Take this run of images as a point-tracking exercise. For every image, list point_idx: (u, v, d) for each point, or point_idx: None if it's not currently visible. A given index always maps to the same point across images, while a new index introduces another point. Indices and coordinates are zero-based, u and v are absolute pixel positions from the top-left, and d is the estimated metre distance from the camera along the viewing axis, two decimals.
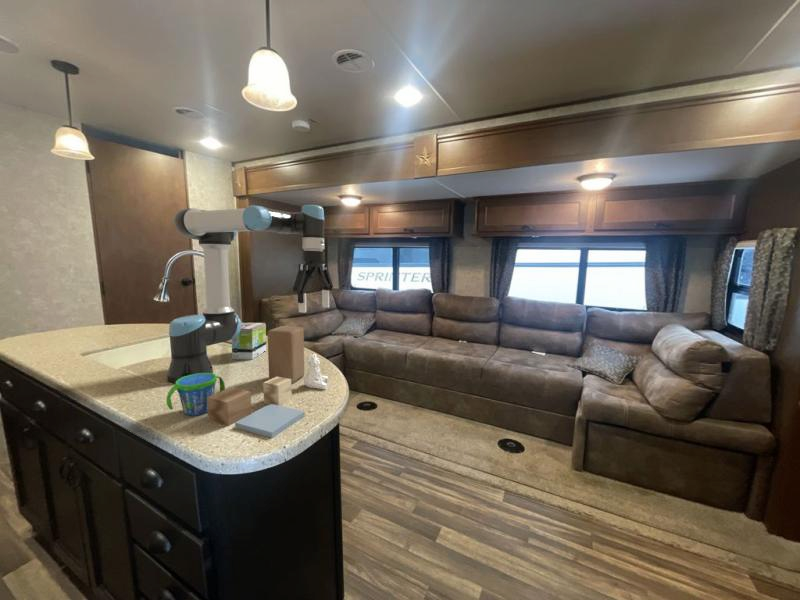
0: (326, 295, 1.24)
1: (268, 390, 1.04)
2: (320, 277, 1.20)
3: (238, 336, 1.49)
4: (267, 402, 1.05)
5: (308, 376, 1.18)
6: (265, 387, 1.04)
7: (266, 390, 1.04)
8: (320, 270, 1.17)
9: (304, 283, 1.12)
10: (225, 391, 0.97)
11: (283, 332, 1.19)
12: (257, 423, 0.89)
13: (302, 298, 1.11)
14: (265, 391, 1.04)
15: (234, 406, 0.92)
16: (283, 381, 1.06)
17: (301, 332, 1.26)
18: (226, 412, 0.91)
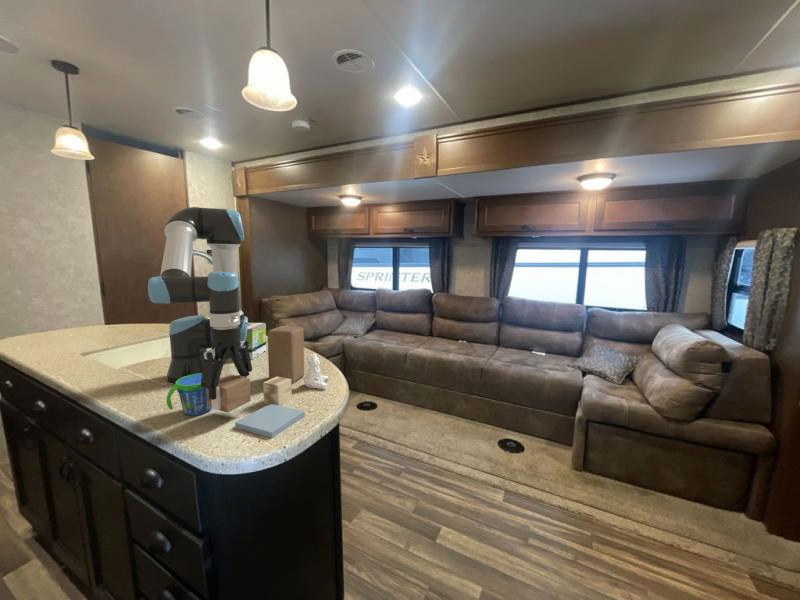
0: None
1: (268, 390, 1.04)
2: (234, 358, 0.96)
3: None
4: (267, 402, 1.05)
5: (308, 376, 1.18)
6: (265, 387, 1.04)
7: (266, 390, 1.04)
8: (234, 350, 0.94)
9: (215, 374, 0.90)
10: (225, 377, 0.97)
11: (283, 332, 1.19)
12: (257, 423, 0.89)
13: (214, 393, 0.90)
14: (265, 391, 1.04)
15: (234, 393, 0.92)
16: (283, 381, 1.06)
17: (301, 332, 1.26)
18: (225, 398, 0.91)
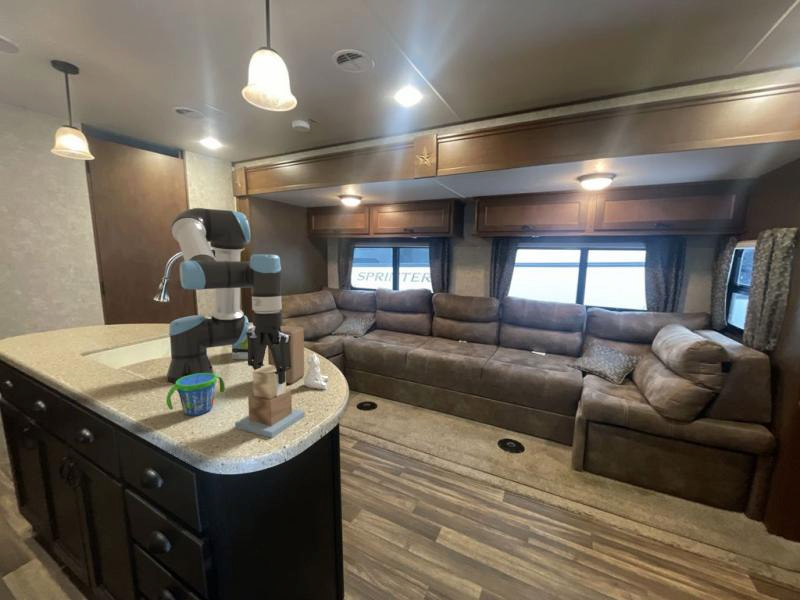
0: None
1: (258, 380, 0.89)
2: None
3: None
4: (257, 394, 0.90)
5: (308, 376, 1.18)
6: (255, 376, 0.90)
7: (256, 380, 0.90)
8: (265, 337, 0.88)
9: None
10: None
11: (283, 332, 1.19)
12: (257, 423, 0.89)
13: None
14: (255, 381, 0.90)
15: (277, 405, 0.90)
16: None
17: (301, 332, 1.26)
18: (269, 411, 0.88)
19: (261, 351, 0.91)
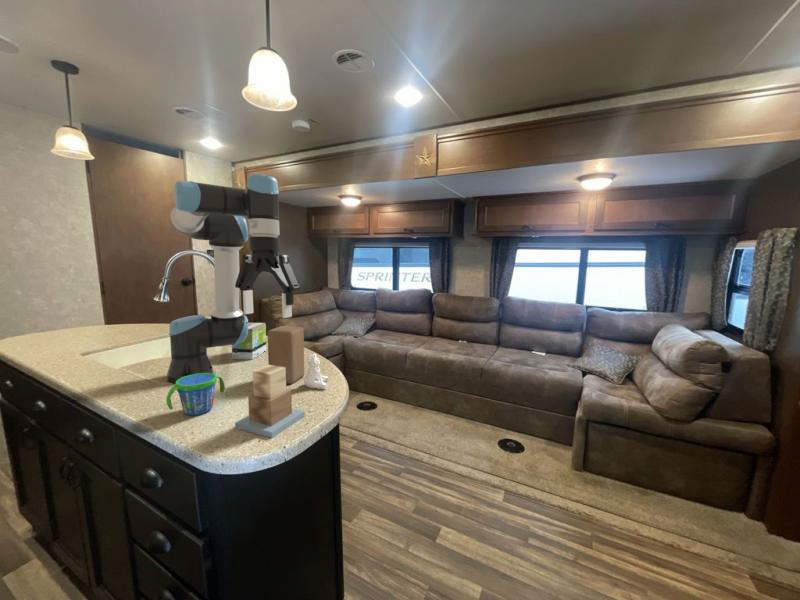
0: None
1: (258, 380, 0.89)
2: None
3: None
4: (257, 394, 0.90)
5: (308, 376, 1.18)
6: (255, 376, 0.90)
7: (256, 380, 0.90)
8: (263, 263, 0.86)
9: None
10: None
11: (283, 332, 1.19)
12: (257, 423, 0.89)
13: None
14: (255, 381, 0.90)
15: (277, 405, 0.90)
16: (276, 370, 0.91)
17: (301, 332, 1.26)
18: (269, 411, 0.88)
19: (253, 276, 0.90)
